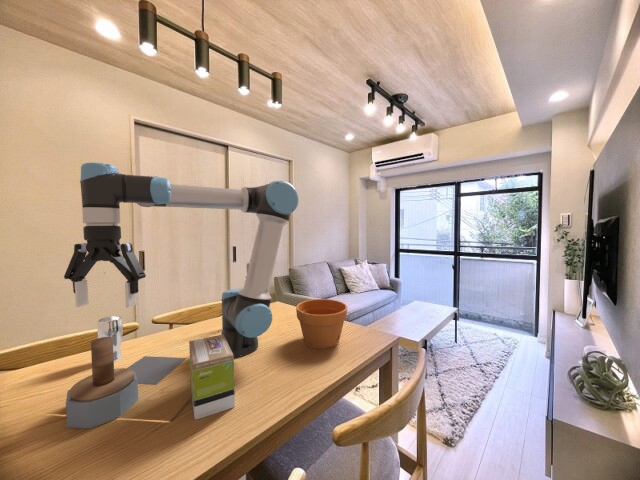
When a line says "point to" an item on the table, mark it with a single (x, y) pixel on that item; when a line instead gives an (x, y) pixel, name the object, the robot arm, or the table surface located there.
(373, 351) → the table surface
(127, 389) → the bowl
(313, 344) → the flower pot
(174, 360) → the mat
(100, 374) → the lid
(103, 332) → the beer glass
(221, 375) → the tea box
